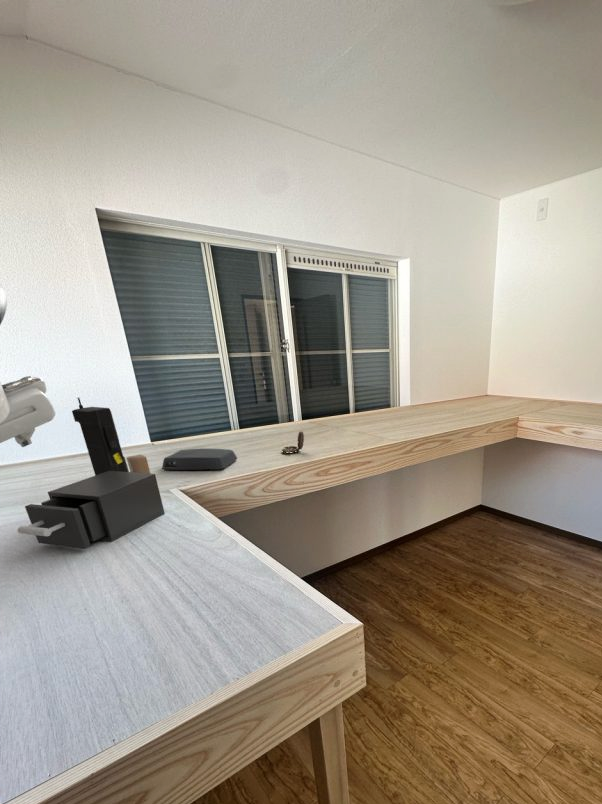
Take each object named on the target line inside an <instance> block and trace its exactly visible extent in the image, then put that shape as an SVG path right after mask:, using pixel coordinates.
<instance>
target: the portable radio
mask: <svg viewBox="0 0 602 804" xmlns="http://www.w3.org/2000/svg"><path fill="white" fill-rule="evenodd" d="M77 401H78V408H75V409H73V410H71V413H72V417H73V420H74V422H76V423H78V424H79V426H80V428H81V432H82V436H83V440H84V442H85V446H86V450H87V453H88V456H89V459H90V462H91V466H92V469H93V473H94V476H95V475H98V474H101V473H104V472H107V471H120V472H130V469H129V466H128V463H127V459H126V457H125V456H124V454H123V451H122V447H121V443H120V438H119V435H118V432H117V429H116V424H115V421H114V418H113V414H112V410H111V409H110V407H102V406H101V407H100V406H87V407H84V406H83V404H82V402H81V398H80V397H77Z"/></svg>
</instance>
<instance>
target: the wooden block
mask: <svg viewBox="0 0 602 804" xmlns="http://www.w3.org/2000/svg"><path fill="white" fill-rule="evenodd" d="M126 462H127V466H128V470H129V472H135V473H150V474H151V471H150V467H149V466H150V465H149V462H148V458H147V456H146V455H144V454H136V455H130V456H127V457H126Z"/></svg>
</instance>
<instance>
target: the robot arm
mask: <svg viewBox="0 0 602 804" xmlns="http://www.w3.org/2000/svg"><path fill="white" fill-rule="evenodd" d="M7 305H8V300H7V295H6V293H5V290H4V289H3V286H2V285H1V284H0V326H1V324H2V323H3V320H4V318H5V315H6V313H7ZM46 393H47V385H46V382H45V381H44V379H43V378H42V377H40V376H39V377H38V376H33V377H32V376H31V375H27V376H24V377H21V378H20V379H18V380H13V381H10V382H7V383H5V384H2V382H0V444H1V443H4V442H6V441H9V440H11V439H14V441H15V442H16V443H17V445H20V447H21V448H25V447H27V446H29V445H31V444H33V443H32V439H31V438H32V437H33V435H34V433H35V431H36V428H38V427H40V426H42V425H45V424H47V423H50V422H51V421H53V420H54V418H55V416H56V411H55V408H54V406H53V404H52V402H51V400H50V399H49V397H48V396H47V395H46Z"/></svg>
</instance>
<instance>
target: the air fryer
mask: <svg viewBox="0 0 602 804" xmlns="http://www.w3.org/2000/svg"><path fill="white" fill-rule="evenodd" d="M47 495H48V498H49V500H50V499H53V498H55V497H68V498H79V499H90V500H97V503H98V506H99V509H100V512H101V515H102V519H103V522H104V525H105V528H106V532H107V535H105V536H103V537H101V538H99V539H98V540H97V541H104V542H105V541H106V542H114V541H116V540H119V539H120V538H122V537H123V536H125V535H128V534H129V533H131V532H133V531H135V530H137V529H138V528H140V527H143V526H144V525H146V524H148V523H150V522H152V521H154V520H155V519H158V518H159V517H161V516H162V515H165V514H166V513H165V509H164V505H163V501H162V500H163V499H162V497H161V493H160V488H159V485H158V480H157V476H156V473H151V472H150V473H135V472H130V471H129V472H120V471H107V472H104V473H101V474H98V475H95V474H94V475H92V476H90V477H87V478H84V479H81V480H78V481H76V482H73V483H70V484H67V485H64V486H61V487H59V488H56V489H53V490H50V491H47Z"/></svg>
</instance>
